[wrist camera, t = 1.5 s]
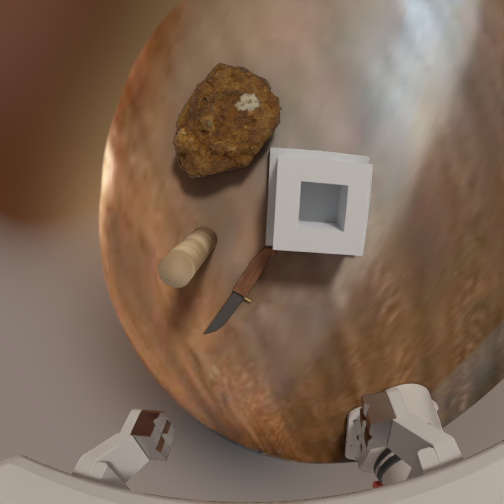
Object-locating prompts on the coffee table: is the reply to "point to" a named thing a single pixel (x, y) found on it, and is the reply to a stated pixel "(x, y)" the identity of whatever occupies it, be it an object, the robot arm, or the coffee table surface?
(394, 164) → the coffee table surface
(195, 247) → the peg
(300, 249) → the socket
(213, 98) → the decorative rock
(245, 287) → the knife
